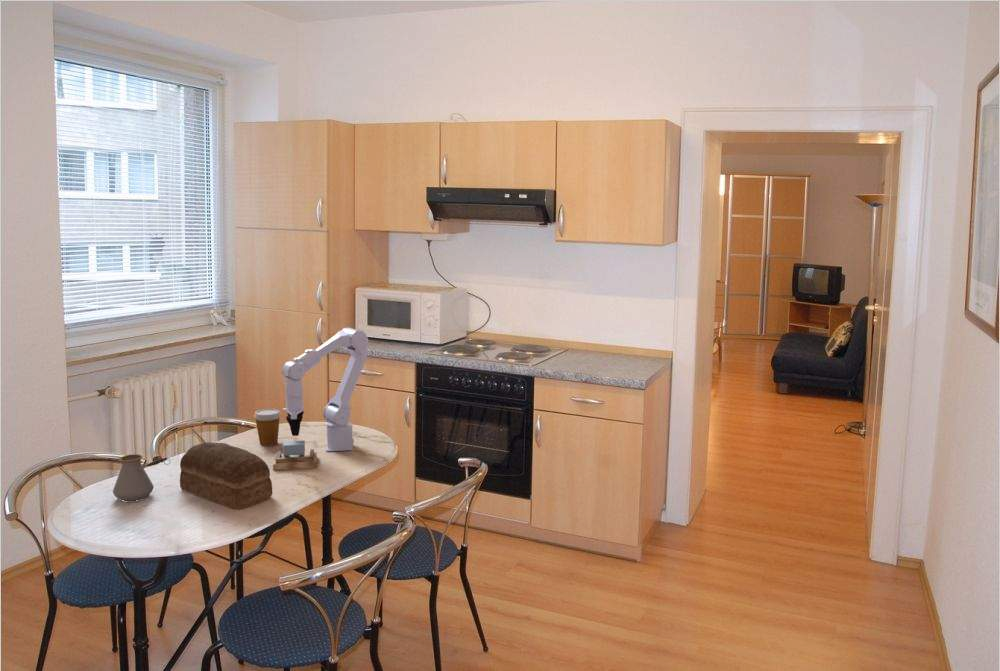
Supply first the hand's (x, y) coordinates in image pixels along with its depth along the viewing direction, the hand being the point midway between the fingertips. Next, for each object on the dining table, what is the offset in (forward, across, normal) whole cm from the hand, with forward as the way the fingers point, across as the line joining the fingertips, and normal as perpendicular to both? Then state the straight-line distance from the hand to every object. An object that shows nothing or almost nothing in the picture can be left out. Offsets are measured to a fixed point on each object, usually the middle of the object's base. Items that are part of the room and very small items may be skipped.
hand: (295, 433), depth 299 cm
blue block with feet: (+6, +7, 0) cm, 10 cm away
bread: (+9, +33, -20) cm, 39 cm away
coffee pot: (+9, +34, -43) cm, 56 cm away
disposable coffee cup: (+9, -18, -11) cm, 22 cm away
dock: (+8, +8, 0) cm, 11 cm away
